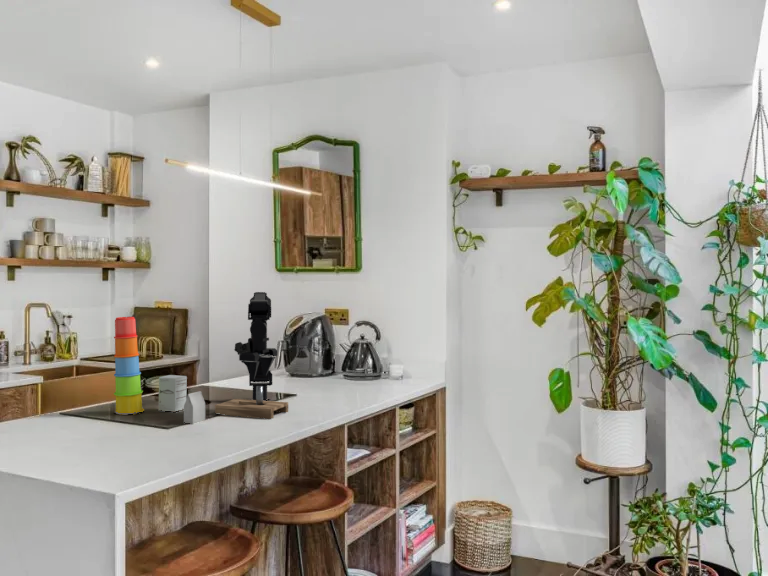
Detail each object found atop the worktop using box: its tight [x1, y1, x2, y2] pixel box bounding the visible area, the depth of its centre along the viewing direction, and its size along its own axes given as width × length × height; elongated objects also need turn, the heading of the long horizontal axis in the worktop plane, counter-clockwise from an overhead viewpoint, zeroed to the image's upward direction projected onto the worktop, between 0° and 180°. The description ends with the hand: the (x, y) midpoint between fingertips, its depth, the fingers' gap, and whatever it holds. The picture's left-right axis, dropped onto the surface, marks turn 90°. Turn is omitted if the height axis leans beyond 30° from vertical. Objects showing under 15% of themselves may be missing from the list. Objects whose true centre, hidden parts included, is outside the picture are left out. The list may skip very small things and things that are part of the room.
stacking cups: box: [113, 316, 145, 413], centre depth 247 cm, size 10×10×35 cm
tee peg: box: [256, 386, 263, 405], centre depth 247 cm, size 5×5×10 cm
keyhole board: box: [214, 398, 289, 420], centre depth 248 cm, size 14×22×4 cm, turn 73°
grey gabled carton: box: [183, 390, 206, 425], centre depth 232 cm, size 4×7×10 cm, turn 159°
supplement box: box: [158, 374, 188, 412], centre depth 252 cm, size 7×7×13 cm
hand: (258, 378), depth 248 cm, fingers open, 9 cm apart
